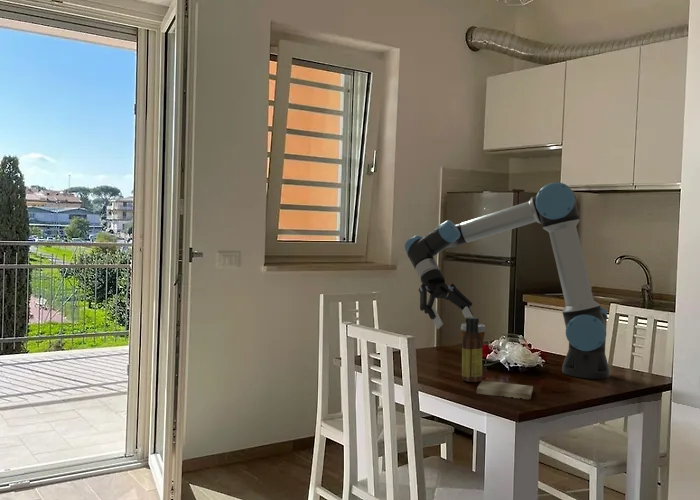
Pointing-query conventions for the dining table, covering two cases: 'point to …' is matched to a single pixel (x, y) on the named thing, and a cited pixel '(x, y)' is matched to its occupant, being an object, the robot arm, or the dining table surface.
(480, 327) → the disposable coffee cup
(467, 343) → the sauce bottle
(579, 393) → the dining table surface
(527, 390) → the birch board
